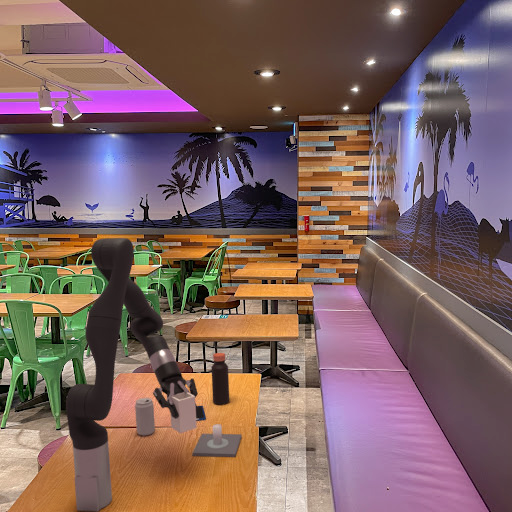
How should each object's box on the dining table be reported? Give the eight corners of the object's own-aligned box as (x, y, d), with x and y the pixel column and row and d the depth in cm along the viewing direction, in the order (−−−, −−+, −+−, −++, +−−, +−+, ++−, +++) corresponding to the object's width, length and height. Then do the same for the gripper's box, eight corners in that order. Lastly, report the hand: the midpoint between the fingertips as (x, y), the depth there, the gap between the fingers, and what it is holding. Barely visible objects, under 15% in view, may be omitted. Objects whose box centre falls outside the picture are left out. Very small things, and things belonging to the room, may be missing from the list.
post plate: (235, 456, 165) (234, 436, 165) (192, 455, 167) (191, 435, 166) (241, 437, 179) (240, 417, 178) (202, 436, 181) (201, 417, 180)
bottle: (214, 406, 207) (212, 357, 205) (211, 400, 214) (209, 353, 212) (231, 404, 209) (229, 355, 207) (227, 398, 215) (225, 351, 213)
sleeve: (196, 427, 157) (195, 396, 156) (180, 433, 154) (178, 400, 153) (187, 422, 162) (185, 391, 161) (171, 427, 158) (169, 395, 157)
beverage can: (150, 437, 182) (148, 404, 180) (133, 436, 183) (131, 403, 182) (157, 429, 188) (156, 397, 187) (141, 428, 189) (139, 396, 188)
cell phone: (186, 423, 193) (186, 421, 193) (184, 408, 207) (184, 407, 207) (206, 421, 194) (206, 419, 194) (203, 406, 208) (202, 405, 208)
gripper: (147, 365, 157) (168, 415, 149) (188, 356, 166) (210, 402, 158) (141, 378, 162) (161, 427, 154) (181, 368, 171) (202, 413, 163)
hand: (186, 414), depth 156 cm, fingers closed on sleeve, 5 cm apart
